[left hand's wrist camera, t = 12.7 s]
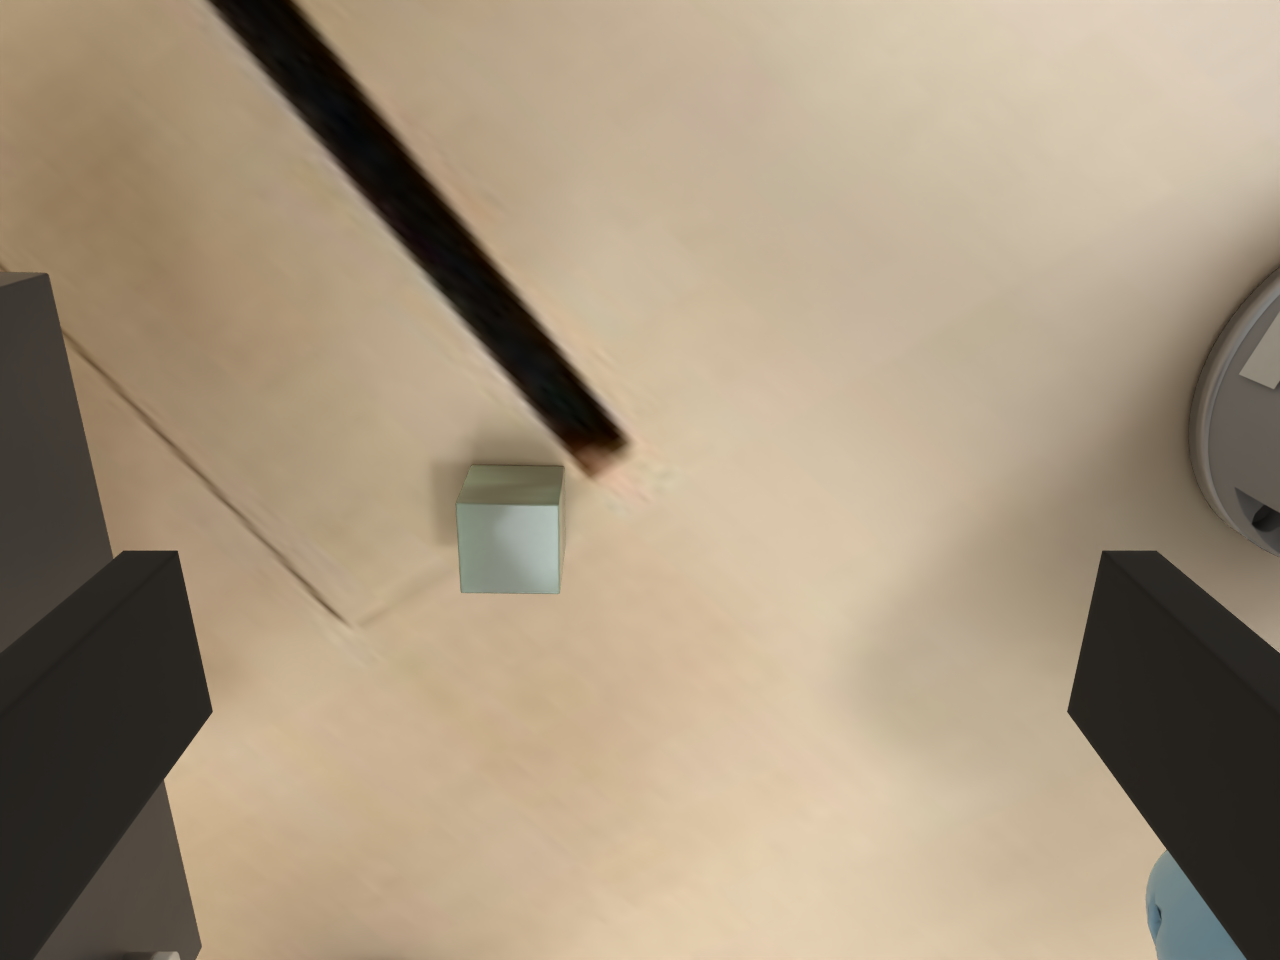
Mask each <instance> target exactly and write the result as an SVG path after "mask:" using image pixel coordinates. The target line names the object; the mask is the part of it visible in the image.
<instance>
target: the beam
mask: <svg viewBox="0 0 1280 960" xmlns="http://www.w3.org/2000/svg"><path fill="white" fill-rule="evenodd" d="M112 560H113V555H112V550H111V546H110V542H109V537H108V533H107V528H106V524H105V520H104V515H103V511H102V507H101V502H100V498H99V493H98V489H97V485H96V480H95V476H94V471H93V467H92V463H91V458H90V454H89V450H88V445H87V441H86V436H85V432H84V428H83V423H82V419H81V414H80V410H79V406H78V401H77V397H76V392H75V388H74V384H73V379H72V375H71V371H70V366H69V362H68V357H67V353H66V349H65V344H64V340H63V335H62V331H61V327H60V322H59V318H58V314H57V309H56V305H55V300H54V296H53V292H52V287H51V283H50V278H49V275H48V274H47V273H25V272H0V653H1V652H2V651H4V650H5V649H6V648H7V647H8V646H10V645H11V644H12V643H13V642H14V641H16V640H17V639H18V638H19V637H21V636H22V635H23V634H24V633H25V632H27V631H28V630H29V629H30V628H31V627H33V626H34V625H35V624H36V623H37V622H39V621H40V620H41V619H42V618H43V617H45V616H46V615H47V614H48V613H49V612H51V611H52V610H53V609H54V608H55V607H57V606H58V605H59V604H60V603H61V602H63V601H64V600H65V599H66V598H67V597H69V596H70V595H71V594H72V593H73V592H75V591H76V590H77V589H78V588H79V587H81V586H82V585H83V584H84V583H85V582H87V581H88V580H89V579H90V578H92V577H93V576H94V575H95V574H96V573H98V572H99V571H100V570H101V569H102V568H104V567H105V566H106V565H107V564H108V563H110V562H111V561H112ZM201 947H202V945H201V941H200V936H199V932H198V928H197V923H196V919H195V914H194V910H193V906H192V901H191V897H190V893H189V888H188V884H187V879H186V875H185V871H184V866H183V862H182V857H181V853H180V849H179V844H178V840H177V836H176V831H175V827H174V822H173V818H172V814H171V809H170V805H169V800H168V796H167V792H166V787H165V783H164V780H163V781H162V783H161V784H160V785H159V787H158V788H157V789H156V791H155V792H154V794H153V795H152V796H151V798H150V799H149V801H148V802H147V803H146V805H145V806H144V807H143V809H142V810H141V812H140V813H139V814H138V816H137V817H136V818H135V820H134V821H133V823H132V824H131V825H130V827H129V828H128V830H127V831H126V832H125V834H124V835H123V836H122V838H121V839H120V841H119V842H118V843H117V845H116V846H115V847H114V849H113V850H112V852H111V853H110V854H109V856H108V857H107V859H106V860H105V861H104V863H103V864H102V865H101V867H100V868H99V870H98V871H97V872H96V874H95V875H94V876H93V878H92V879H91V881H90V882H89V883H88V885H87V886H86V888H85V889H84V890H83V892H82V893H81V894H80V896H79V897H78V899H77V900H76V901H75V903H74V904H73V906H72V907H71V908H70V910H69V911H68V912H67V914H66V915H65V917H64V918H63V919H62V921H61V922H60V923H59V925H58V926H57V928H56V929H55V930H54V932H53V933H52V935H51V936H50V937H49V939H48V940H47V941H46V943H45V944H44V946H43V947H42V948H41V950H40V951H39V952H38V954H37V955H36V957H35V958H34V959H33V960H122V959H123V957H124V955H126V954H127V953H129V952H149V951H160V952H178V954H179V957H180V960H196V958H197V956H198V954H199V952H200V950H201Z"/></svg>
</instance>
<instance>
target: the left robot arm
mask: <svg viewBox="0 0 1280 960" xmlns="http://www.w3.org/2000/svg"><path fill="white" fill-rule="evenodd" d="M1189 450H1190V458H1191V463H1192V467H1193V471H1194V474H1195V477H1196V480H1197V483H1198V485H1199V487H1200V489H1201V492H1202V494H1203V496H1204V497H1205V499H1206V500H1207V502H1208V503H1209V505H1210V506H1211V508H1212V509H1213V510H1214V511H1215V513H1216V514H1217V515H1218V516H1219V517H1220V518H1221V519H1222V520H1223V521H1224V522H1225V523H1226V524H1227V525H1229V526H1230V527H1231V528H1232V529H1234V530H1235V531H1237V532H1238V533H1240V534H1241V535H1242V536H1244V537H1245V538H1247V539H1248V540H1250V541H1251V542H1253V543H1254V544H1256V545H1257V546H1258V547H1260V548H1262V549H1264V550H1265V551H1267V552H1269V553H1271V554H1273V555H1276V556H1278V557H1280V267H1279V268H1278V269H1276V270H1275V271H1274V272H1273V273H1272V274H1270V275H1269V276H1268V277H1267V278H1266V279H1265V280H1264V281H1263V282H1262V283H1261V284H1260V285H1259V286H1258V287H1257V288H1256V289H1255V290H1254V291H1253V292H1252V293H1251V295H1250V296H1249V297H1248V298H1247V299H1246V300H1245V301H1244V302H1243V304H1242V305H1241V306H1240V307H1239V309H1238V310H1237V311H1236V312H1235V314H1234V315H1233V316H1232V318H1231V319H1230V320H1229V322H1228V323H1227V325H1226V326H1225V328H1224V329H1223V331H1222V332H1221V334H1220V336H1219V337H1218V339H1217V341H1216V342H1215V344H1214V346H1213V348H1212V350H1211V352H1210V354H1209V355H1208V358H1207V360H1206V362H1205V365H1204V367H1203V369H1202V372H1201V374H1200V377H1199V380H1198V383H1197V386H1196V389H1195V393H1194V397H1193V402H1192V406H1191V413H1190V420H1189ZM212 712H213V711H212V706H211V702H210V697H209V692H208V688H207V683H206V679H205V674H204V669H203V665H202V660H201V656H200V651H199V646H198V642H197V637H196V633H195V628H194V624H193V619H192V614H191V610H190V605H189V601H188V596H187V591H186V587H185V582H184V578H183V573H182V568H181V564H180V559H179V555H178V551H123V552H122V553H120V554H119V555H118V556H117V557H116V558H114V559H113V560H112V561H111V562H110V563H108V564H107V565H106V566H105V567H104V568H102V569H101V570H100V571H99V572H98V573H96V574H95V575H94V576H93V577H92V578H90V579H89V580H88V581H87V582H85V583H84V584H83V585H82V586H81V587H79V588H78V589H77V590H76V591H75V592H73V593H72V594H71V595H70V596H69V597H67V598H66V599H65V600H64V601H63V602H61V603H60V604H59V605H58V606H57V607H55V608H54V609H53V610H52V611H51V612H49V613H48V614H47V615H46V616H45V617H43V618H42V619H41V620H40V621H39V622H37V623H36V624H35V625H34V626H33V627H31V628H30V629H29V630H28V631H27V632H25V633H24V634H23V635H22V636H21V637H19V638H18V639H17V640H16V641H14V642H13V643H12V644H11V645H10V646H8V647H7V648H6V649H5V650H4V651H2V652H1V653H0V960H33V959H34V958H35V957H36V955H37V954H38V952H39V951H40V950H41V948H42V947H43V946H44V944H45V943H46V941H47V940H48V939H49V937H50V936H51V935H52V933H53V932H54V930H55V929H56V928H57V926H58V925H59V923H60V922H61V921H62V919H63V918H64V917H65V915H66V914H67V912H68V911H69V910H70V908H71V907H72V906H73V904H74V903H75V901H76V900H77V899H78V897H79V896H80V894H81V893H82V892H83V890H84V889H85V888H86V886H87V885H88V883H89V882H90V881H91V879H92V878H93V876H94V875H95V874H96V872H97V871H98V870H99V868H100V867H101V865H102V864H103V863H104V861H105V860H106V859H107V857H108V856H109V854H110V853H111V852H112V850H113V849H114V847H115V846H116V845H117V843H118V842H119V841H120V839H121V838H122V836H123V835H124V834H125V832H126V831H127V830H128V828H129V827H130V825H131V824H132V823H133V821H134V820H135V818H136V817H137V816H138V814H139V813H140V812H141V810H142V809H143V807H144V806H145V805H146V803H147V802H148V801H149V799H150V798H151V796H152V795H153V794H154V792H155V791H156V789H157V788H158V787H159V785H160V784H161V783H162V781H163V780H164V778H165V777H166V776H167V774H168V773H169V772H170V770H171V769H172V767H173V766H174V765H175V763H176V762H177V760H178V759H179V758H180V756H181V755H182V754H183V752H184V751H185V749H186V748H187V747H188V745H189V744H190V743H191V741H192V740H193V738H194V737H195V736H196V734H197V733H198V731H199V730H200V729H201V727H202V726H203V725H204V723H205V722H206V720H207V719H208V718H209V716H210V715H211V714H212ZM1067 712H1068V714H1069V715H1070V716H1071V718H1072V719H1073V720H1074V722H1075V723H1076V725H1077V726H1078V727H1079V729H1080V730H1081V731H1082V733H1083V734H1084V736H1085V737H1086V738H1087V740H1088V741H1089V743H1090V744H1091V745H1092V747H1093V748H1094V749H1095V751H1096V752H1097V754H1098V755H1099V756H1100V758H1101V759H1102V760H1103V762H1104V763H1105V765H1106V766H1107V767H1108V769H1109V770H1110V772H1111V773H1112V774H1113V776H1114V777H1115V778H1116V780H1117V781H1118V783H1119V784H1120V785H1121V787H1122V788H1123V789H1124V791H1125V792H1126V794H1127V795H1128V796H1129V798H1130V799H1131V801H1132V802H1133V803H1134V805H1135V806H1136V807H1137V809H1138V810H1139V812H1140V813H1141V814H1142V816H1143V817H1144V818H1145V820H1146V821H1147V823H1148V824H1149V825H1150V827H1151V828H1152V830H1153V831H1154V832H1155V834H1156V835H1157V836H1158V838H1159V839H1160V841H1161V842H1162V843H1163V845H1164V846H1165V847H1166V849H1167V850H1166V851H1165V852H1164V853H1163V854H1162V855H1161V857H1160V858H1159V859H1158V861H1157V862H1156V863H1155V865H1154V867H1153V869H1152V871H1151V873H1150V877H1149V880H1148V884H1147V890H1146V911H1147V918H1148V926H1149V929H1150V932H1151V935H1152V938H1153V941H1154V943H1155V946H1156V951H1157V958H1158V960H1280V653H1279V652H1278V651H1276V650H1275V649H1274V648H1273V647H1272V646H1270V645H1269V644H1268V643H1267V642H1266V641H1264V640H1263V639H1262V638H1261V637H1259V636H1258V635H1257V634H1256V633H1255V632H1253V631H1252V630H1251V629H1250V628H1249V627H1247V626H1246V625H1245V624H1244V623H1243V622H1241V621H1240V620H1239V619H1238V618H1237V617H1235V616H1234V615H1233V614H1232V613H1231V612H1229V611H1228V610H1227V609H1226V608H1225V607H1223V606H1222V605H1221V604H1220V603H1219V602H1217V601H1216V600H1215V599H1214V598H1213V597H1211V596H1210V595H1209V594H1208V593H1207V592H1205V591H1204V590H1203V589H1202V588H1201V587H1199V586H1198V585H1197V584H1196V583H1195V582H1193V581H1192V580H1191V579H1190V578H1188V577H1187V576H1186V575H1185V574H1184V573H1182V572H1181V571H1180V570H1179V569H1178V568H1176V567H1175V566H1174V565H1173V564H1172V563H1170V562H1169V561H1168V560H1167V559H1166V558H1164V557H1163V556H1162V555H1161V554H1160V553H1158V552H1157V551H1102V555H1101V559H1100V564H1099V568H1098V573H1097V578H1096V582H1095V587H1094V591H1093V596H1092V601H1091V605H1090V610H1089V614H1088V619H1087V624H1086V628H1085V633H1084V637H1083V642H1082V646H1081V651H1080V656H1079V660H1078V665H1077V669H1076V674H1075V679H1074V683H1073V688H1072V692H1071V697H1070V702H1069V706H1068V711H1067Z"/></svg>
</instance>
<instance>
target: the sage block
mask: <svg viewBox="0 0 1280 960" xmlns="http://www.w3.org/2000/svg"><path fill="white" fill-rule="evenodd" d="M456 518H457V536H458V553H459V570H460V588H461V593H522V594H559V593H560V589H561V580H562V571H563V562H564V553H565V468H564V467H561V466H500V465H471V467H470V469H469V472H468V474H467V477H466V479H465V482H464V484H463V487H462V489H461V492H460V494H459V497H458V499H457V502H456Z"/></svg>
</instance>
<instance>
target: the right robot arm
mask: <svg viewBox="0 0 1280 960" xmlns="http://www.w3.org/2000/svg"><path fill="white" fill-rule="evenodd" d="M122 960H180V957H179V954H178V952H160V951H149V952H129V953H127V954H126V955H124V957H123V959H122Z"/></svg>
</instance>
